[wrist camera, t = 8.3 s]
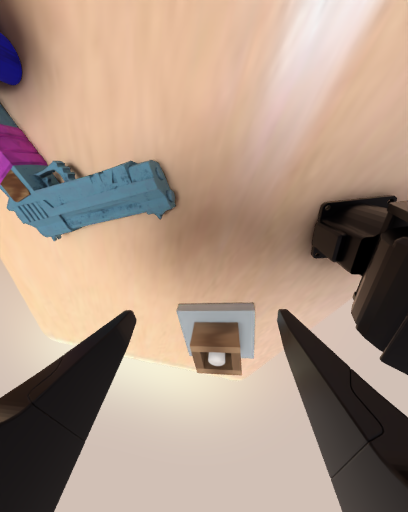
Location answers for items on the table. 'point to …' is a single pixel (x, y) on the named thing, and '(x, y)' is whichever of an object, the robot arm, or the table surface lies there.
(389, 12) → the table surface
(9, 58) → the toy
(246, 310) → the peg base
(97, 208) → the toy gun
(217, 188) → the table surface
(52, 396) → the robot arm
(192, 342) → the collar
